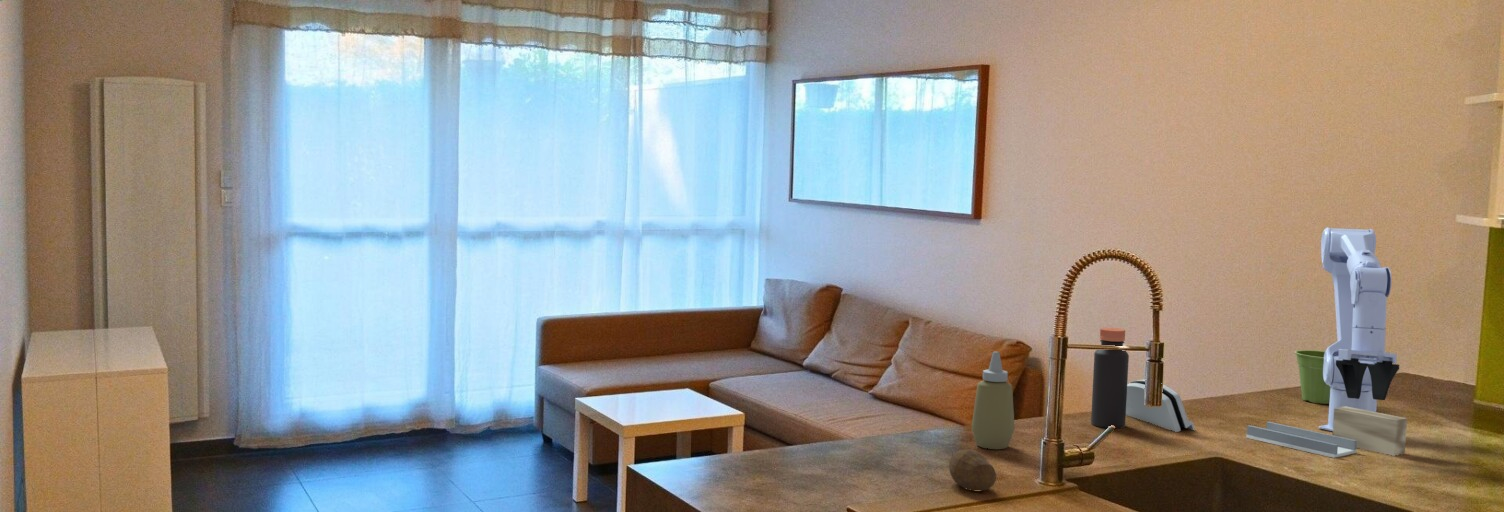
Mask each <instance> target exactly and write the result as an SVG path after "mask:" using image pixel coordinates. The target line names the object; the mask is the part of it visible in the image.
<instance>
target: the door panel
mask: <svg viewBox="0 0 1504 512" xmlns="http://www.w3.org/2000/svg"><path fill="white" fill-rule="evenodd" d="M1407 428H1408V417H1404V416H1396V415H1393V414H1388V413H1381V412H1377V411H1376V412H1372V411H1367V410H1362V409H1356V408H1351V407H1346V406H1344V407H1339V408H1334V422H1333V431H1332V435H1334V436H1338V437H1343V438H1348V439H1352V440H1357V447H1356V449H1359V448H1360V449H1361V450H1363V449H1364V451H1368V450H1370V451H1369V452H1372V451H1375V452H1374V453H1377V452H1379V453H1378V454H1382V453H1384V454H1383V455H1386V454H1389V455H1388V456H1391V455H1392V456H1391V457H1396V456H1395V455H1397V456H1400V455H1399V454H1401V455H1404V454H1403V453H1405V452H1406V439H1407ZM1405 454H1406V453H1405Z"/></svg>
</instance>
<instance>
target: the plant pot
mask: <svg viewBox="0 0 1504 512" xmlns="http://www.w3.org/2000/svg"><path fill="white" fill-rule="evenodd" d="M1325 351H1326V350H1316V349H1315V350H1312V349H1311V350H1310V349H1301V350H1294V354H1295V355H1296V359H1297V365H1298V370H1299V371H1298V372H1299V382H1300V390H1301V399H1302V400H1303V401H1305V402H1306V401H1308V402H1310V403H1313V404H1321V405H1329V402H1330V388H1331V387H1330V386H1329V385H1327V384H1326V383H1325V382H1324V379H1323V364H1324V354H1325Z"/></svg>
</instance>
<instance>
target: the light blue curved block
mask: <svg viewBox="0 0 1504 512" xmlns="http://www.w3.org/2000/svg"><path fill="white" fill-rule="evenodd" d="M1145 380H1146V379H1137V380H1134V381H1131V382H1129V383H1127V400H1126V416H1128V417H1132V418H1135V419H1136V418H1137V419H1136V420H1139V419H1141V420H1140V421H1142V420H1143V421H1142V422H1145V421H1146V423H1148V422H1150V423H1149V424H1151V423H1152V424H1151V425H1154V424H1155V425H1154V426H1157V425H1158V427H1160V426H1161V428H1163V427H1164V428H1163V429H1166V428H1167V429H1166V430H1169V431H1171V430H1172V431H1171V432H1174V431H1175V433H1177V432H1178V433H1179V432H1181V431H1182V430H1181V429H1182V428H1184V429H1187V430H1190V429H1191V430H1190V431H1193V430H1194V431H1196V428H1195V424H1194V422H1193V421H1191V420H1189V418H1188V416H1187V413H1186V410H1185V407H1184V404H1183V401H1182V397H1181V396H1180V394H1178V393H1177V392H1176V391H1175V390H1173V389H1172V388H1171V387H1168V385H1165V384H1163V392H1162V406H1161V407H1146V406H1145V405H1144V388H1145Z"/></svg>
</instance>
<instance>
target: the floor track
mask: <svg viewBox="0 0 1504 512" xmlns="http://www.w3.org/2000/svg"><path fill="white" fill-rule="evenodd" d="M1245 438H1247V439H1250V440H1255V441H1258V442H1264V443H1269V444H1272V445H1276V446H1280V447H1285V448H1290V449H1294V450H1298V451H1302V452H1306V453H1311V454H1314V455H1321V456H1325V457H1328V458H1333V459H1335V458H1340V457H1345V456H1349V455H1353V454H1357V453H1358V449H1357V448H1356V447H1357V440H1352V439H1348V438H1343V437H1338V436H1334V435H1333V434H1330V433H1329V434H1327V433H1323V432H1319V431H1314V430H1310V429H1305V428H1300V427H1297V426H1292V425H1286V424H1282V423H1278V422H1272V421H1266V427H1259V426H1254V425H1247V426H1246V434H1245Z"/></svg>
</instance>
